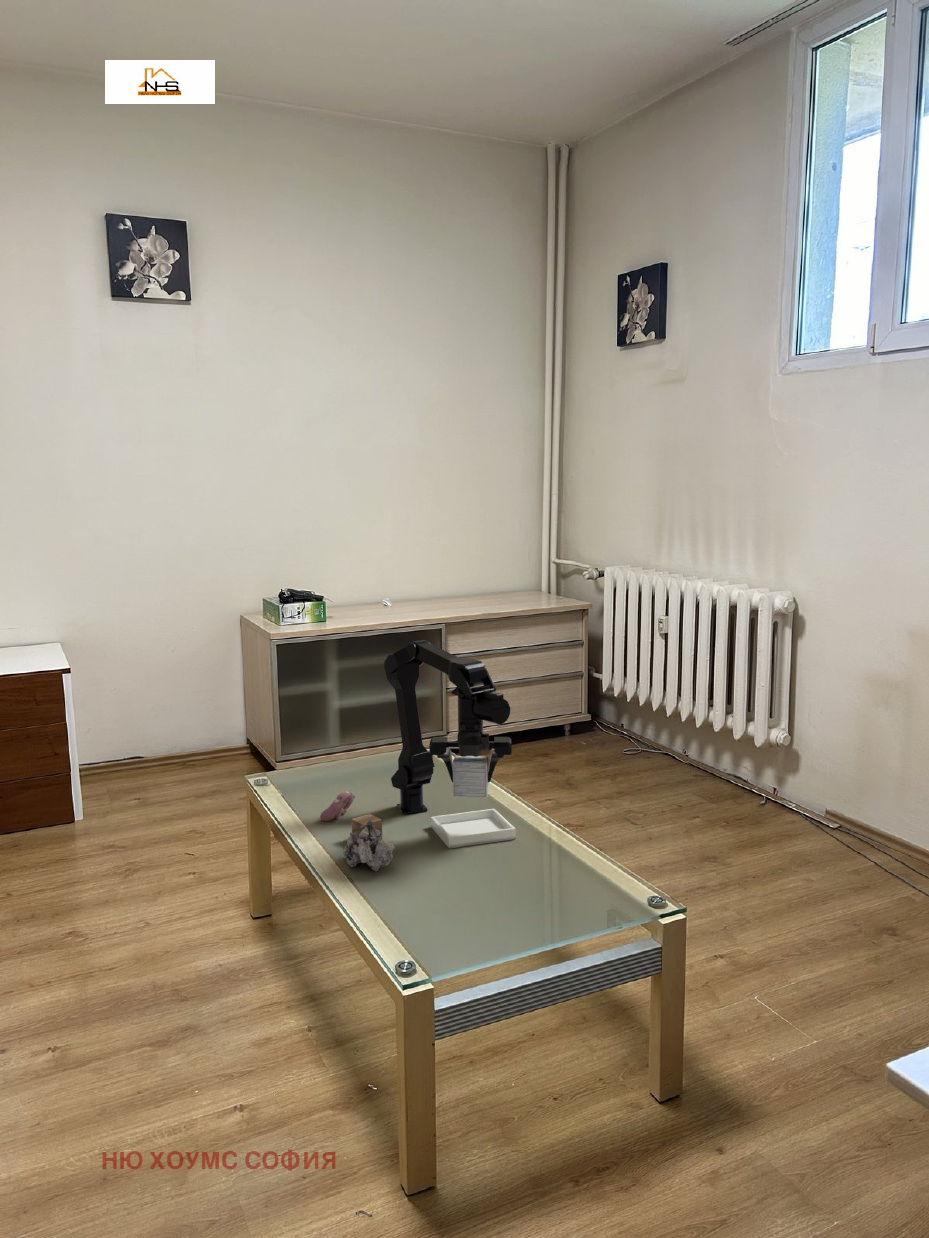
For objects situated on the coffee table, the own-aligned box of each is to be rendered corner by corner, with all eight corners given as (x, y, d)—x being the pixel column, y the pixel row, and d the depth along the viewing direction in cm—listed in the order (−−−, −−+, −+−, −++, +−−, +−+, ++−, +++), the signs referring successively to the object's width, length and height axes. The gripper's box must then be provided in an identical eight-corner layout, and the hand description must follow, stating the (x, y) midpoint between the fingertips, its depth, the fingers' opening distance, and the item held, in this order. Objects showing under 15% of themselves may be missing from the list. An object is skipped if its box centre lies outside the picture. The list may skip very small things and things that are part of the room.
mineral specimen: (400, 858, 191) (377, 810, 193) (355, 880, 188) (333, 832, 191) (396, 863, 203) (375, 819, 206) (355, 885, 200) (334, 839, 203)
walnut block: (352, 839, 212) (351, 818, 211) (370, 834, 215) (370, 813, 214) (363, 846, 208) (363, 824, 207) (382, 840, 211) (381, 819, 210)
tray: (431, 826, 219) (430, 816, 218) (494, 818, 224) (494, 808, 224) (449, 848, 206) (448, 837, 205) (515, 838, 211) (515, 828, 210)
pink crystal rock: (333, 829, 222) (344, 805, 221) (317, 819, 223) (328, 795, 221) (350, 815, 232) (361, 792, 230) (335, 806, 233) (345, 783, 231)
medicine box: (488, 791, 215) (488, 755, 214) (487, 798, 211) (487, 761, 209) (455, 790, 216) (454, 755, 215) (452, 797, 212) (452, 760, 210)
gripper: (427, 725, 203) (428, 793, 205) (511, 725, 202) (512, 793, 205) (430, 712, 214) (431, 777, 216) (511, 712, 213) (511, 777, 216)
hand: (471, 781), depth 213 cm, fingers closed on medicine box, 8 cm apart
